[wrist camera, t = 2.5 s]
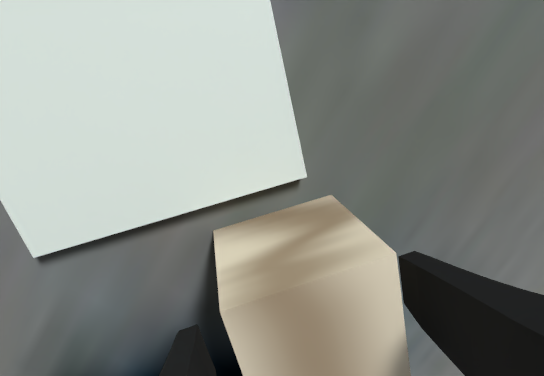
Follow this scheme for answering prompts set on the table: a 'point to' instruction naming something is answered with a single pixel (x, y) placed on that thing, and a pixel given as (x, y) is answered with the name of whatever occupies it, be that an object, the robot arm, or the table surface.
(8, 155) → the sage pad
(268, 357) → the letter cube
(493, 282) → the robot arm
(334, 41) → the table surface
